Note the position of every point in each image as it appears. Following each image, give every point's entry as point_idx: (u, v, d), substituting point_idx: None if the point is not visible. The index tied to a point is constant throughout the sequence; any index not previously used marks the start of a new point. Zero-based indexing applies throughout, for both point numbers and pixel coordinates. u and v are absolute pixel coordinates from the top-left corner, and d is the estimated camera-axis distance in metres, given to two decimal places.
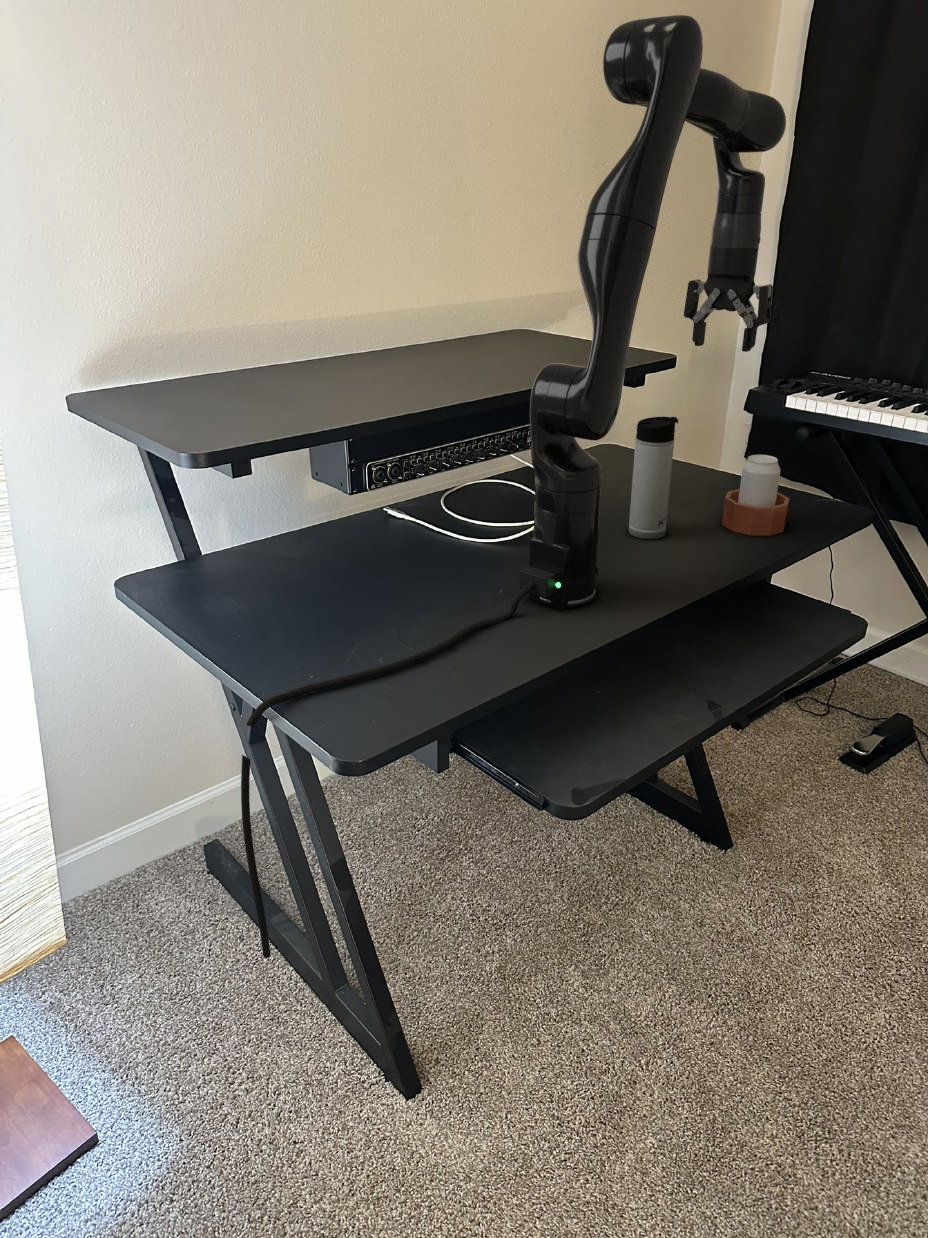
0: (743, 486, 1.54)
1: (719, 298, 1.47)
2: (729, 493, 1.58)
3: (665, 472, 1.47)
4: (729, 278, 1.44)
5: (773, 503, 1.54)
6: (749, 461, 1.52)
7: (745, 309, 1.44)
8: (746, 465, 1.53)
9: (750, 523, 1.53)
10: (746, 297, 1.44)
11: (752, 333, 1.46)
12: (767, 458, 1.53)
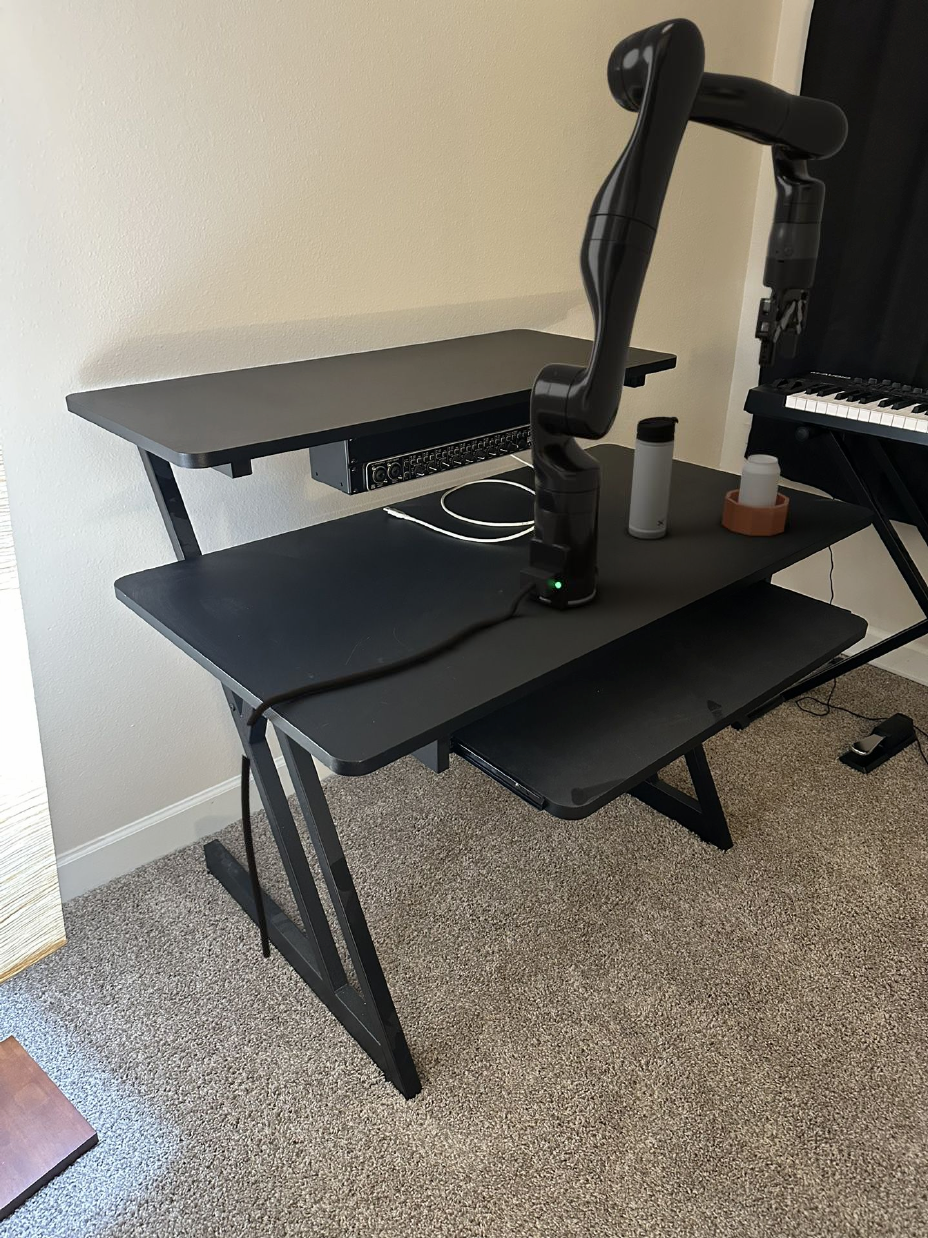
0: (743, 485, 1.54)
1: None
2: (729, 493, 1.58)
3: (665, 472, 1.47)
4: None
5: (773, 503, 1.54)
6: (749, 461, 1.52)
7: None
8: (746, 465, 1.53)
9: (750, 523, 1.53)
10: None
11: (761, 347, 1.41)
12: (767, 458, 1.53)
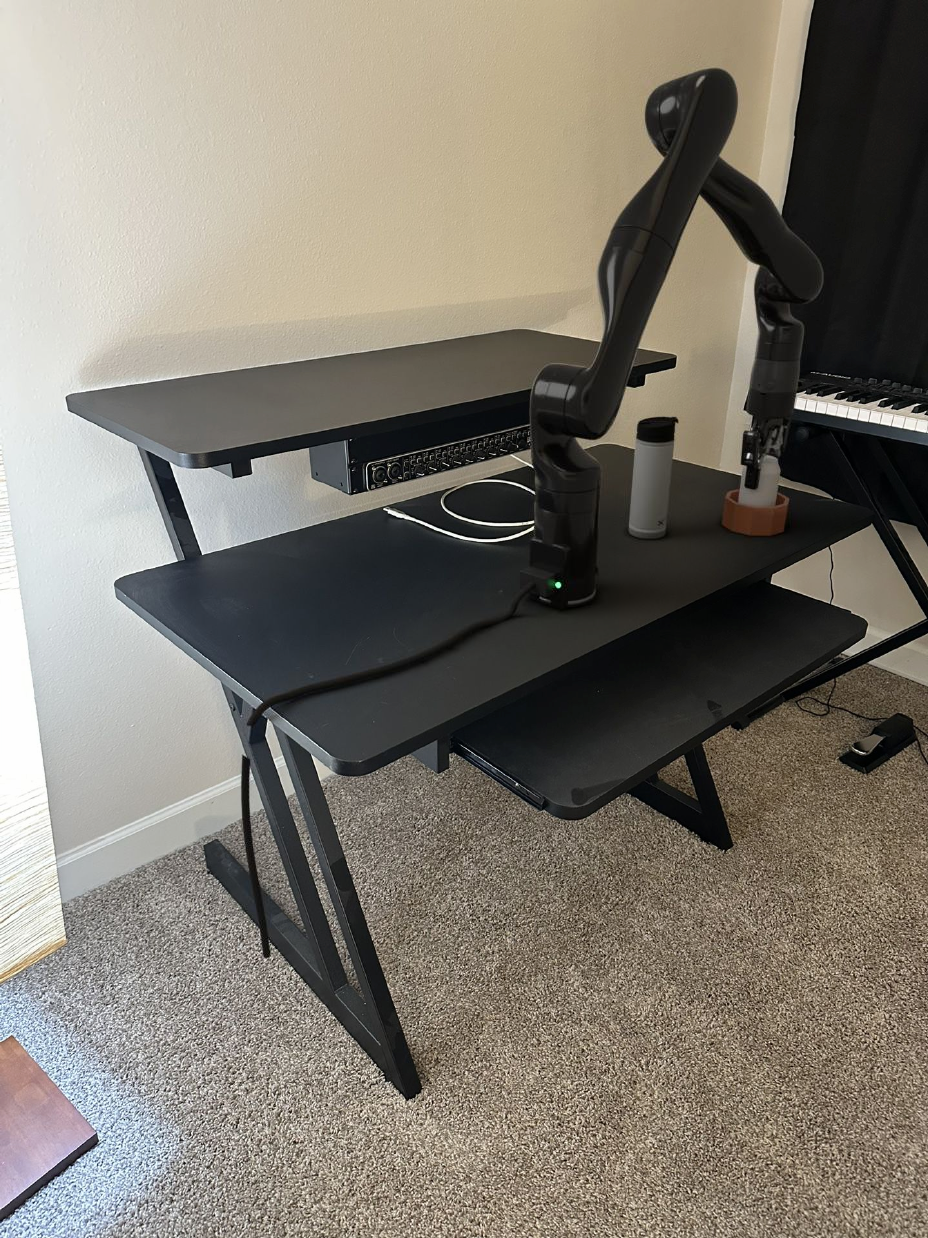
0: (743, 485, 1.54)
1: None
2: (729, 493, 1.58)
3: (665, 472, 1.47)
4: None
5: (773, 503, 1.54)
6: None
7: None
8: None
9: (750, 523, 1.53)
10: None
11: (747, 472, 1.51)
12: (767, 458, 1.53)
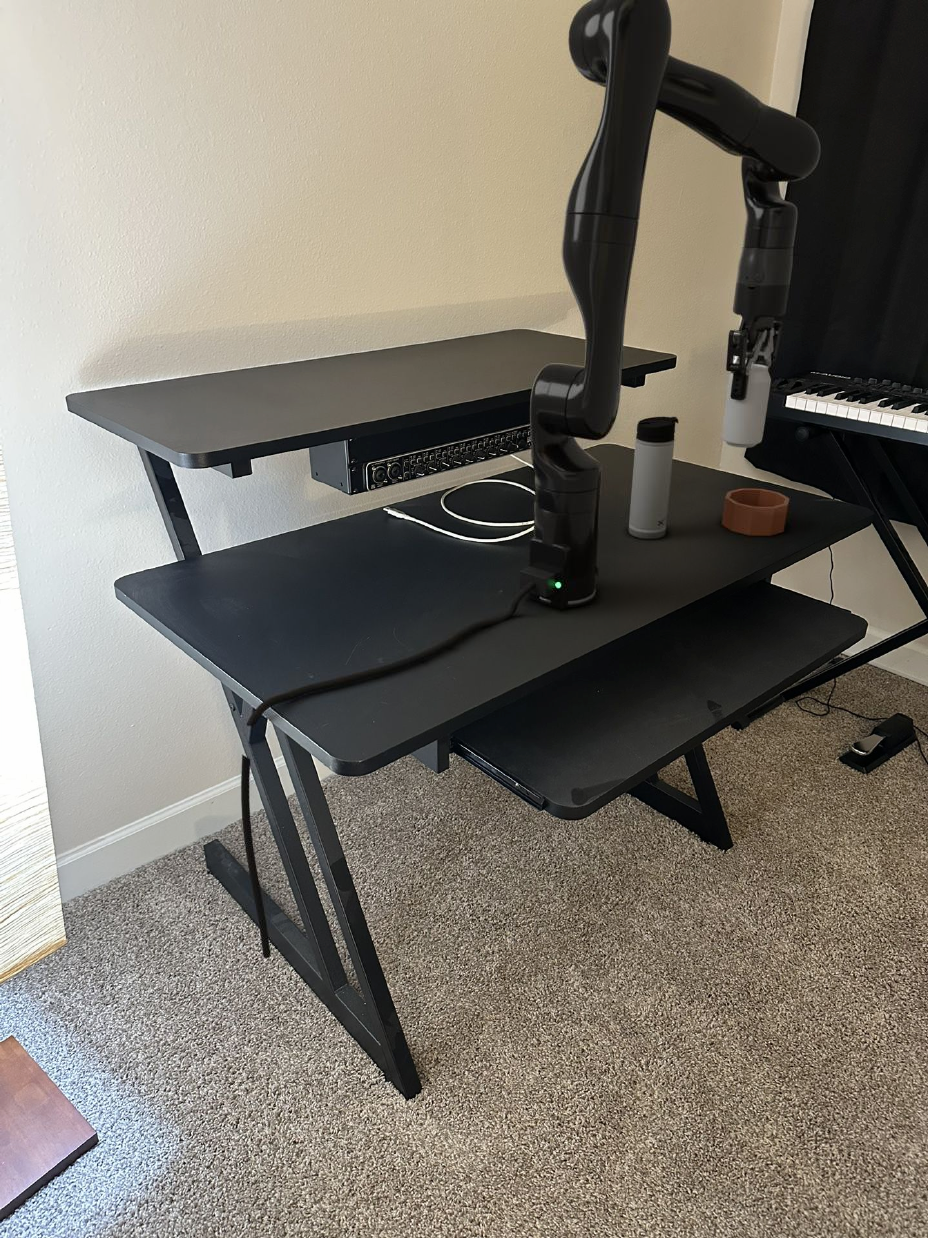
0: (729, 397, 1.38)
1: None
2: (729, 493, 1.58)
3: (665, 472, 1.47)
4: None
5: (763, 417, 1.38)
6: None
7: None
8: None
9: (750, 523, 1.53)
10: None
11: (733, 380, 1.34)
12: (756, 366, 1.37)
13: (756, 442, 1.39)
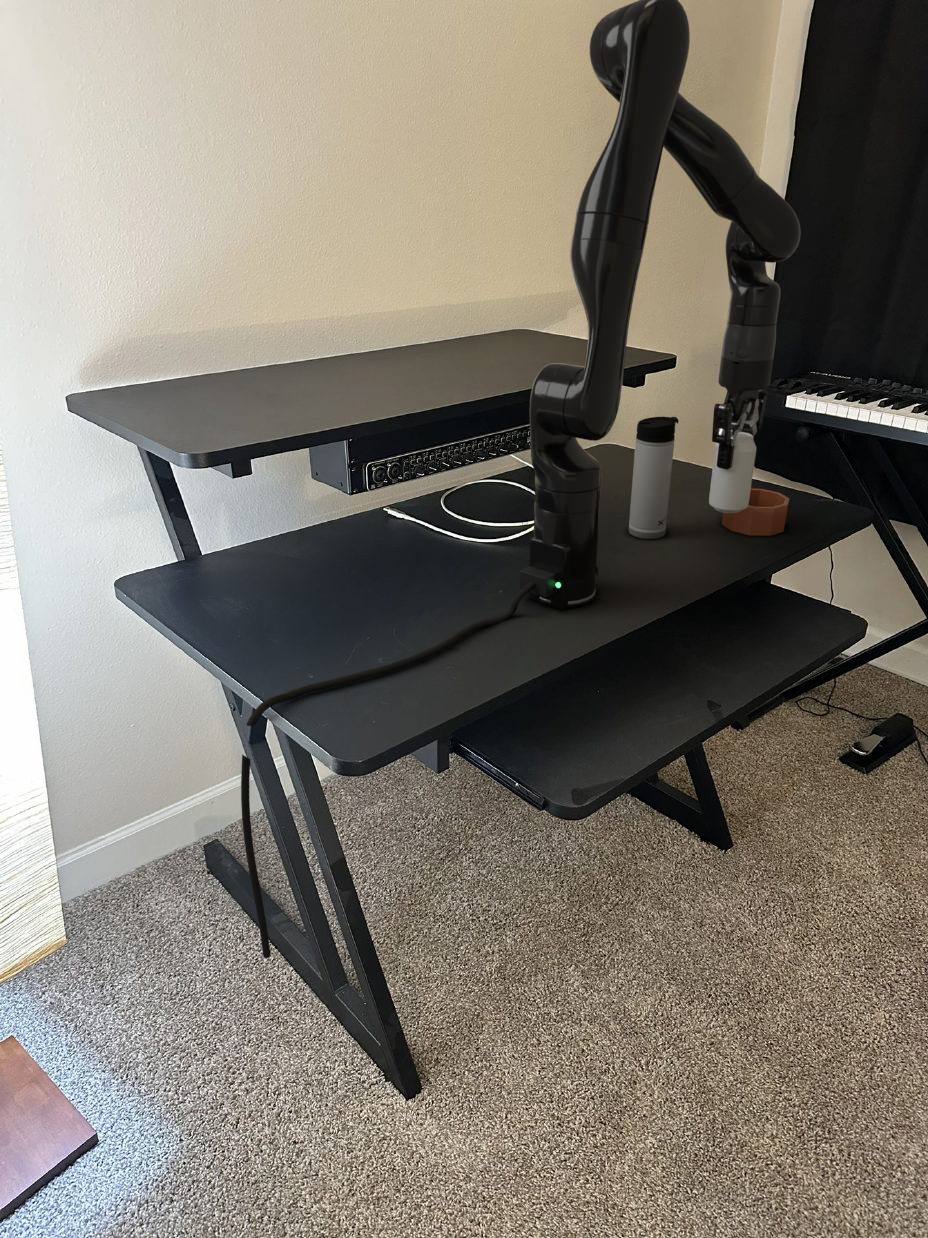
0: (715, 465, 1.41)
1: None
2: None
3: (665, 472, 1.47)
4: None
5: (749, 484, 1.41)
6: None
7: None
8: None
9: (750, 523, 1.53)
10: None
11: (719, 450, 1.37)
12: (742, 435, 1.40)
13: (742, 508, 1.42)
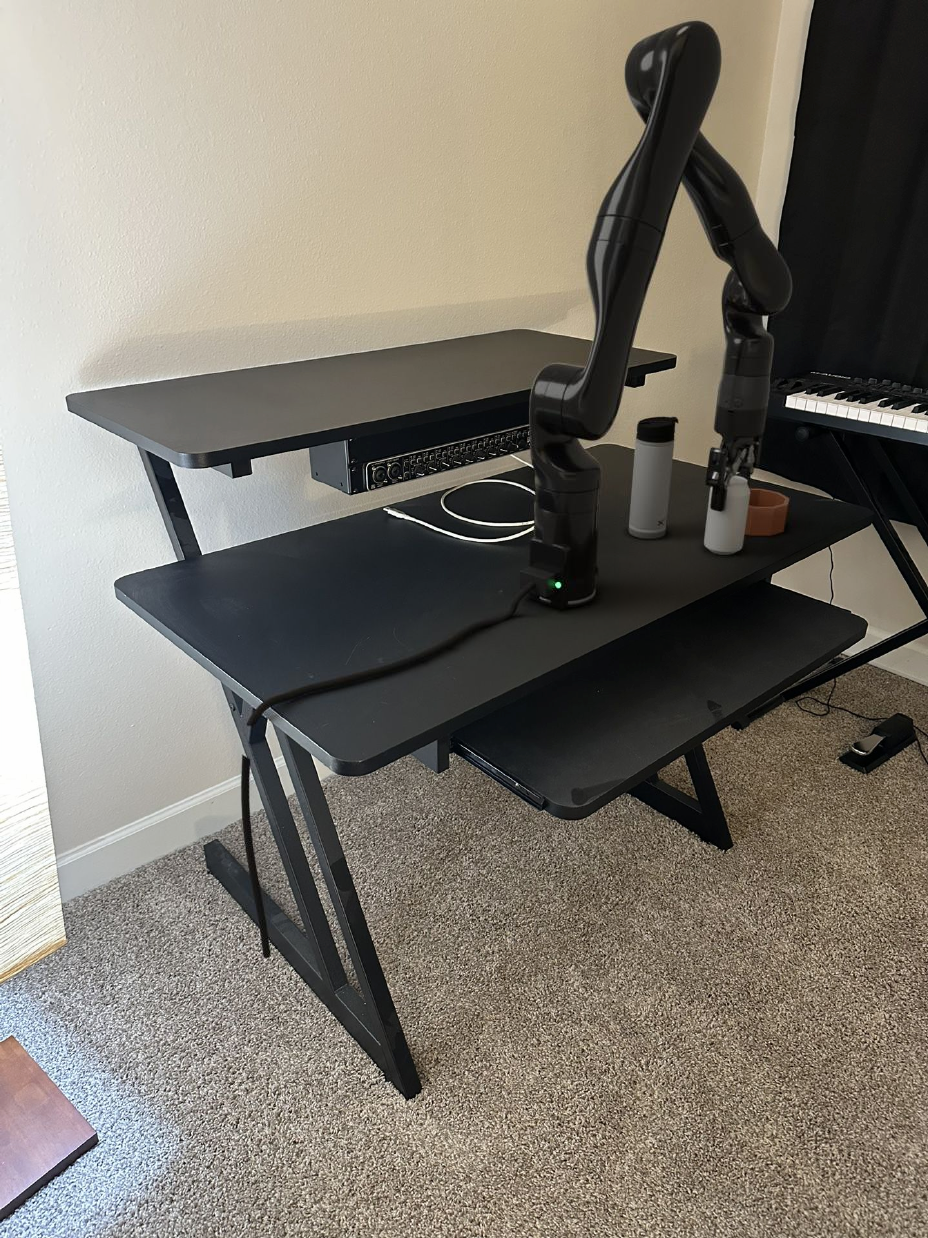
0: (710, 508, 1.44)
1: None
2: None
3: (665, 472, 1.47)
4: None
5: (743, 527, 1.44)
6: None
7: None
8: None
9: (750, 523, 1.53)
10: None
11: (712, 492, 1.40)
12: (736, 479, 1.43)
13: (736, 550, 1.45)
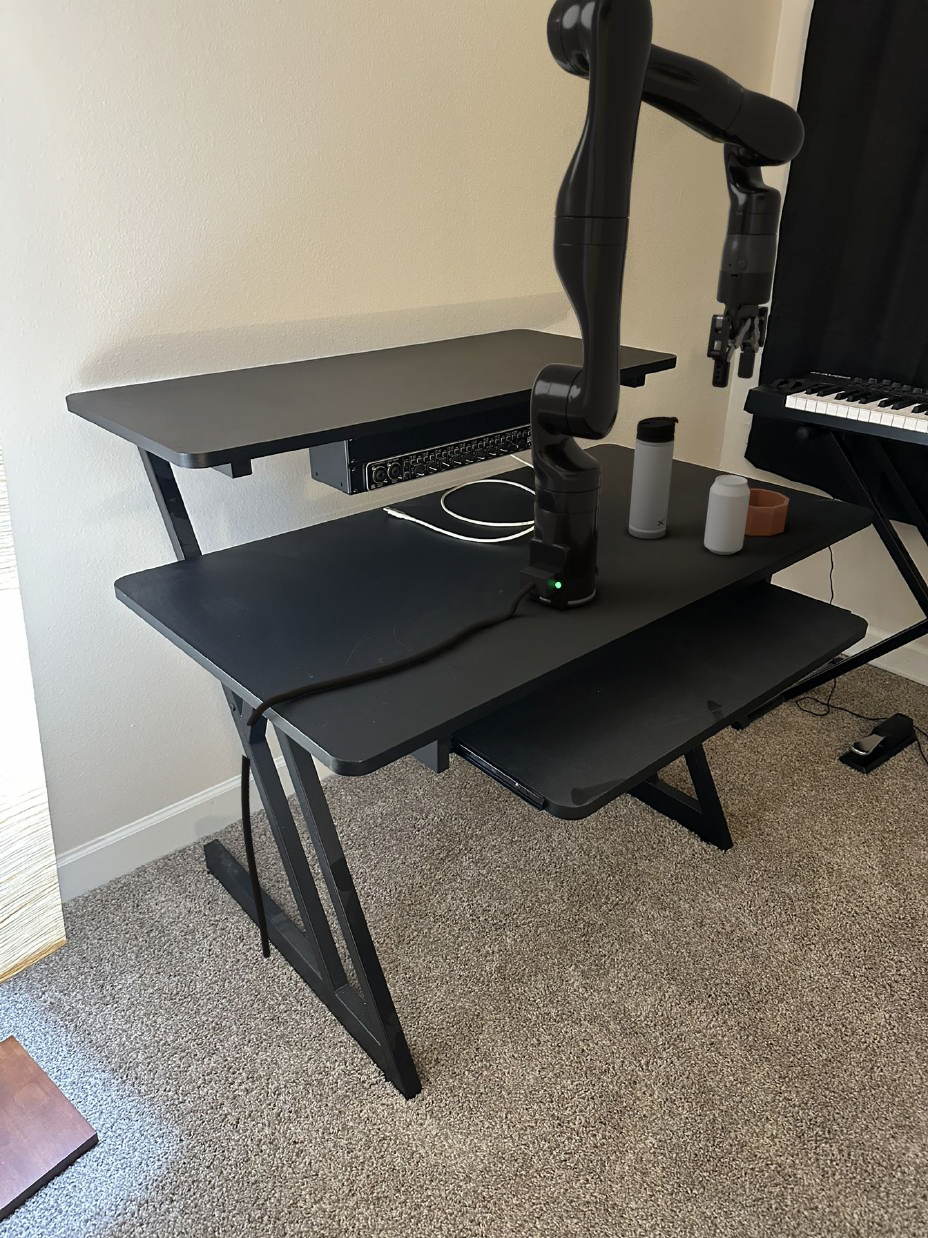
0: (710, 508, 1.44)
1: None
2: None
3: (665, 472, 1.47)
4: None
5: (743, 527, 1.44)
6: (717, 482, 1.42)
7: None
8: (713, 486, 1.43)
9: (750, 523, 1.53)
10: None
11: (714, 366, 1.31)
12: (736, 479, 1.43)
13: (736, 550, 1.45)
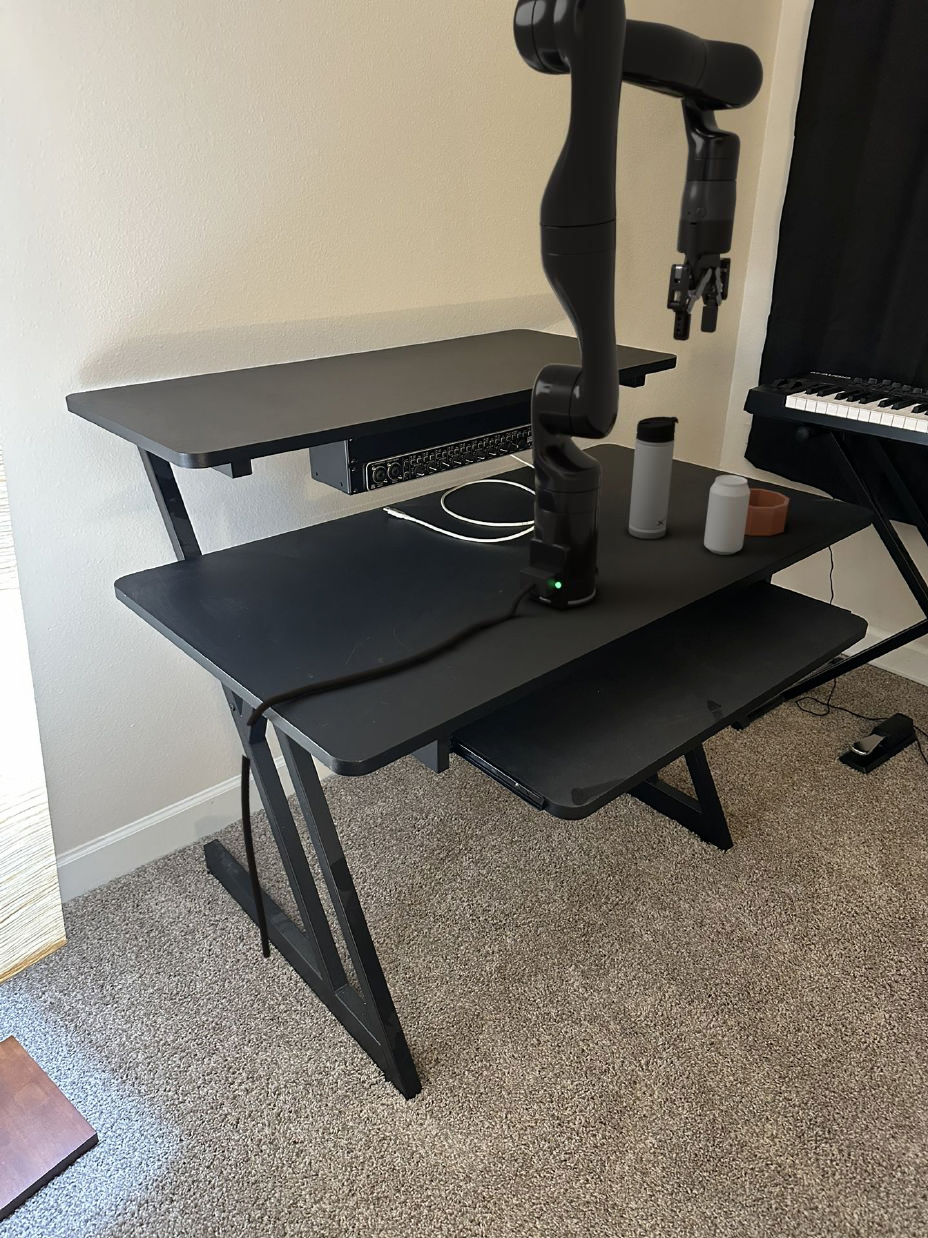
0: (710, 508, 1.44)
1: None
2: None
3: (665, 472, 1.47)
4: None
5: (743, 527, 1.44)
6: (717, 482, 1.42)
7: (678, 290, 1.28)
8: (713, 486, 1.43)
9: (750, 523, 1.53)
10: None
11: (675, 319, 1.28)
12: (736, 479, 1.43)
13: (736, 550, 1.45)
